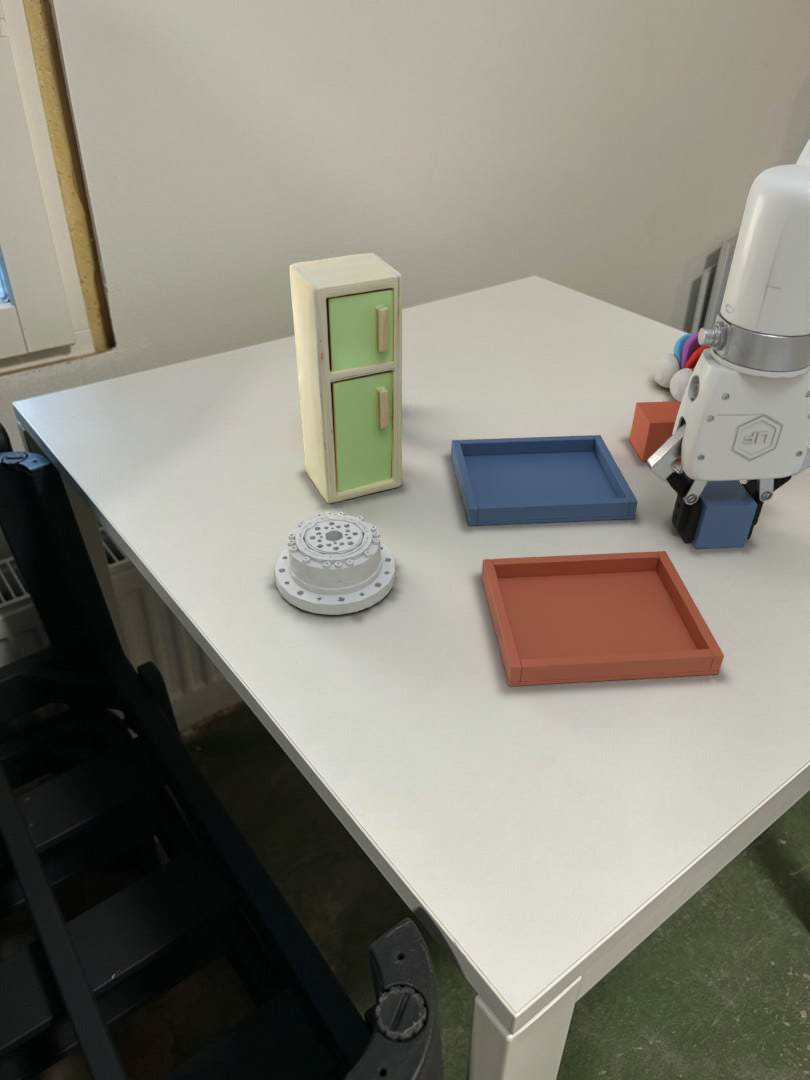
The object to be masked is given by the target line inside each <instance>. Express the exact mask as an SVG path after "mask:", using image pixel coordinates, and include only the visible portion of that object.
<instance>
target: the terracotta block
mask: <svg viewBox="0 0 810 1080" xmlns="http://www.w3.org/2000/svg"><path fill="white" fill-rule="evenodd" d="M680 405H681V402H679V401H677V400H673V401H671V400H669V401H668V400H667V401H637V402H636V404H635V409H634V413H633V419H632V424H631V427H630V428H631V429H630V434H629V439H628V440H629V442H630V444H631V446H632V447H633V449H634V450H635V452H636V454H637V455H638V457H639V459H640V460H641V462H647V460H648V459H649V458H650V457H651V456H652V455H653V454H654V453H655V452H656V451H657V450H658V449H659V448H660V447H661V446H662V445H663V444H664V443H665V442H666V441H667V440H668V439H669V438H670V437H671V436H672V433H673V429H674V425H675V421H676V418H677V414H678V411H679V408H680ZM675 461H681V457H678V458H677V459H676V460H675Z"/></svg>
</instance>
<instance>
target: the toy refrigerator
mask: <svg viewBox="0 0 810 1080" xmlns="http://www.w3.org/2000/svg"><path fill="white" fill-rule="evenodd" d="M288 269H289V284H290V285H289V286H290V297H291V307H292V320H293V330H294V331H293V333H294V343H295V344H294V345H295V355H296V368H297V378H298V379H297V380H298V390H299V405H300V415H301V417H300V418H301V427H302V438H303V450H304V463H305V470H306V473H307V475H308V476H309V478H310V479H311V481H312V482H313V484H314V486H315V488H316V489H317V490H318V492H319V493H320V495H321V496H322V498H323V499H324V501H325V502H326V504H334V503H338V502H342V501H347V500H350V499H355V498H359V497H364V496H367V495H371V494H375V493H379V492H382V491H388V490H391V489H396V488H399V487H401V486H402V483H403V276H402V274H401V273H400V272H399V271H398V270H397V269H395V268H394V267H393V266H391V265H390V264H389V263H388V262H386V261H385V260H384V259H382V258H381V257H379V256H378V255H377V254H376V253H374V252H364V253H355V254H348V255H341V256H335V257H328V258H320V259H314V260H305V261H299V262H293V263H290V265H289V267H288Z"/></svg>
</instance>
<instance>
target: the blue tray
mask: <svg viewBox="0 0 810 1080" xmlns="http://www.w3.org/2000/svg"><path fill="white" fill-rule="evenodd" d="M450 444H451V445H450V447H451V448H450V457H451V463H452V466H453V469H454V473H455V478H456V481H457V486H458V490H459V493H460V496H461V497H460V498H461V501H462V504H463V509H464V513H465V517H466V521H467V526H468V527H473V526H475V527H476V526H497V525H500V526H501V525H519V524H520V525H521V524H544V523H545V524H547V523H562V522H563V523H565V522H566V523H569V522H591V521H592V522H593V521H615V520H616V521H617V520H634V519H636V513H637V509H638V504H639V501H638V499H637V498H636V496H635V494H634V492H633V490H632V489H631V486H630V485H629V484H628V481H627V480H626V478H625V476H624V474H623V473H622V471H621V469H620V467H619V466H618V463H617V461H616V460H615V458H614V456H613V455H612V452H611V451H610V450H609V448H608V446H607V444H606V443H605V440H604V439H603V437H602V435H601V434H595V435H593V434H590V435H589V434H588V435H562V436H561V435H559V436H535V437H533V436H532V437H531V436H530V437H529V436H528V437H505V438H502V437H501V438H481V439H480V438H474V439H472V438H471V439H452V440H451V443H450Z"/></svg>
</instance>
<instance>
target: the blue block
mask: <svg viewBox="0 0 810 1080" xmlns="http://www.w3.org/2000/svg"><path fill="white" fill-rule="evenodd" d="M742 484H743V483H742V482H741V480H731V481H708V483H707V485H706V486H705V488H704V490H703V492H702V494H701V496H700V498H699V499H698V500H699V502H700V503H701V505H702V510H701V514H700V518H699V521H698V525H697V529H696V532H695V536H694V539H693V540H692V541H691V542H690V543H692V545H693V546H694V548H695V549H696V550H700V549H720V548H721V549H723V548H741V547H745V546H746V543H747V540H748V539H747V537H748V534H749V531H750V527H751V524H752V521H753V518H754V515H755V512H756V508H757V503H756V502H755V501H754V500H753V498H752V497H751V496H750V494H749V493H748V492H747V490H746V489H745V488H744V487H743V485H742Z"/></svg>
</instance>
